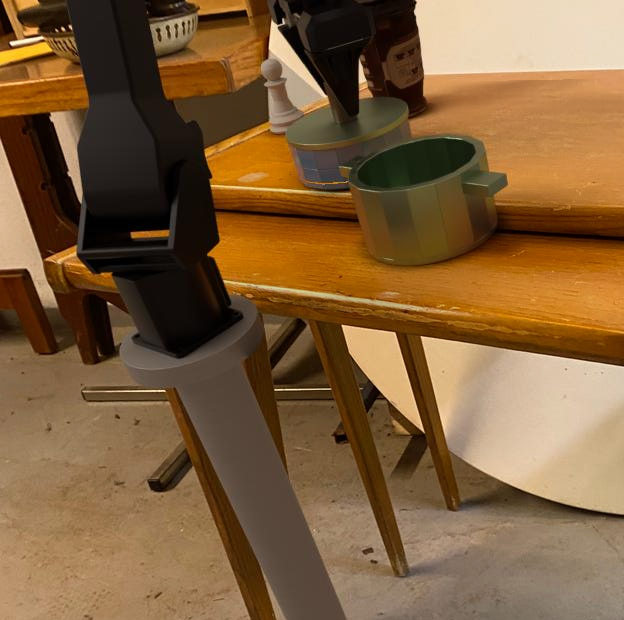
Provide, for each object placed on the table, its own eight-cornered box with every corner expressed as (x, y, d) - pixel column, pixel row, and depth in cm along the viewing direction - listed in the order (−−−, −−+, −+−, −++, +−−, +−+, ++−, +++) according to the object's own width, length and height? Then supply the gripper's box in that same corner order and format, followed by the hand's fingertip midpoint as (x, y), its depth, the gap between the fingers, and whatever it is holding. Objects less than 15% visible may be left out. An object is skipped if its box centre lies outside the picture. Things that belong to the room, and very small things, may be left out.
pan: (360, 199, 89) (347, 154, 86) (278, 186, 96) (264, 144, 93) (440, 149, 96) (431, 106, 93) (358, 141, 103) (347, 100, 100)
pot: (465, 280, 72) (449, 202, 68) (320, 250, 81) (298, 180, 77) (549, 216, 78) (538, 141, 74) (405, 195, 88) (388, 128, 84)
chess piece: (309, 127, 110) (288, 58, 105) (271, 137, 110) (248, 68, 105) (307, 116, 114) (287, 49, 109) (270, 126, 113) (248, 59, 108)
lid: (349, 161, 86) (334, 106, 83) (263, 150, 94) (246, 99, 90) (435, 111, 93) (424, 58, 90) (349, 105, 100) (335, 55, 97)
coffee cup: (451, 97, 109) (427, -23, 101) (419, 124, 103) (392, -1, 95) (389, 100, 112) (361, -16, 104) (355, 126, 107) (323, 6, 99)
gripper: (408, -87, 76) (446, 102, 86) (351, -100, 91) (389, 64, 100) (282, -53, 74) (335, 137, 84) (244, -71, 89) (293, 93, 98)
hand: (342, 104), depth 92 cm, fingers open, 9 cm apart
